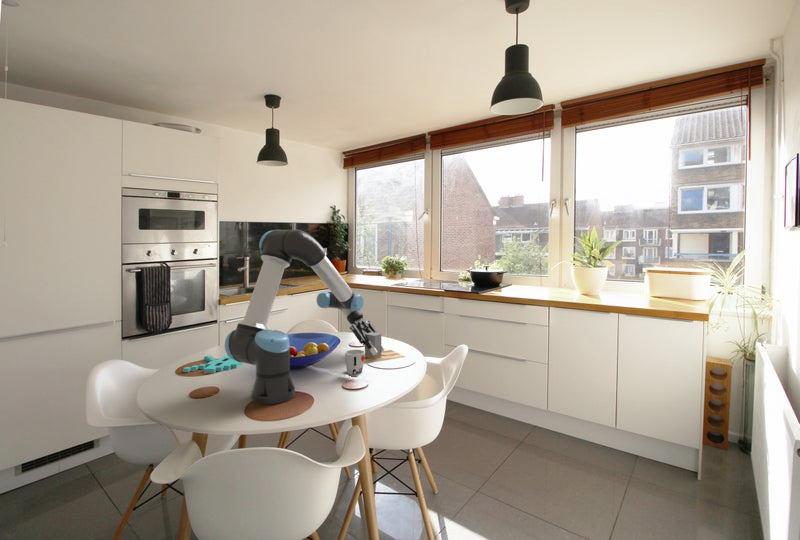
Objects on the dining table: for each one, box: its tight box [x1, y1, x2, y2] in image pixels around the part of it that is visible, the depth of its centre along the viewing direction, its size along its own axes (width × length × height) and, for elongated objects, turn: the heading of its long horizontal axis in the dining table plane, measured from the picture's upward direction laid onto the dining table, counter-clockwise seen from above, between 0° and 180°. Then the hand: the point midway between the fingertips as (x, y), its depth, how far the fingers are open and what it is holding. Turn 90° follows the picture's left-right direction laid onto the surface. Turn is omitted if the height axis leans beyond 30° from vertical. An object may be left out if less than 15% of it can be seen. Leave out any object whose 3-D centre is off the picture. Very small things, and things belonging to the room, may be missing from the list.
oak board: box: [363, 349, 406, 365], centre depth 192 cm, size 14×24×2 cm, turn 121°
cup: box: [344, 349, 365, 378], centre depth 169 cm, size 8×8×10 cm
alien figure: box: [182, 354, 243, 374], centre depth 182 cm, size 20×2×20 cm
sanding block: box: [364, 332, 382, 359], centre depth 191 cm, size 6×5×11 cm
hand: (379, 352), depth 189 cm, fingers closed on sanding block, 5 cm apart
